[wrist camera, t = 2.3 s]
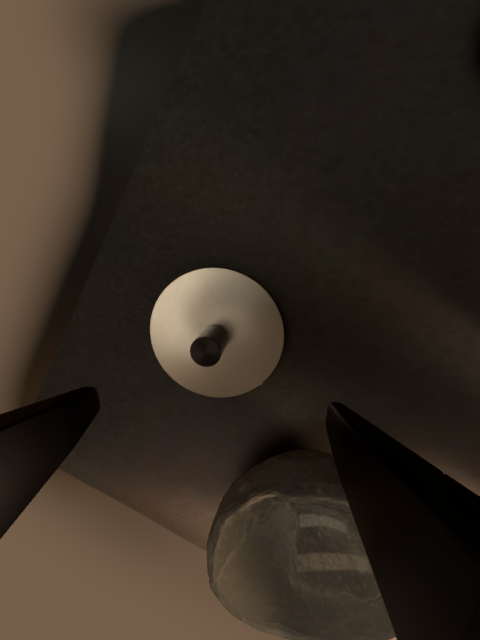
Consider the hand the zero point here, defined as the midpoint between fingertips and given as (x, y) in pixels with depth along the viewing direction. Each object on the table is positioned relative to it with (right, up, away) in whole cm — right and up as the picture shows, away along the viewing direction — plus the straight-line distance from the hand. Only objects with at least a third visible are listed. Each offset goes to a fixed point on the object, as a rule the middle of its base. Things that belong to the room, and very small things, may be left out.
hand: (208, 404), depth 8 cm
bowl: (+8, -15, +16) cm, 23 cm away
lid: (-1, +2, +12) cm, 12 cm away
